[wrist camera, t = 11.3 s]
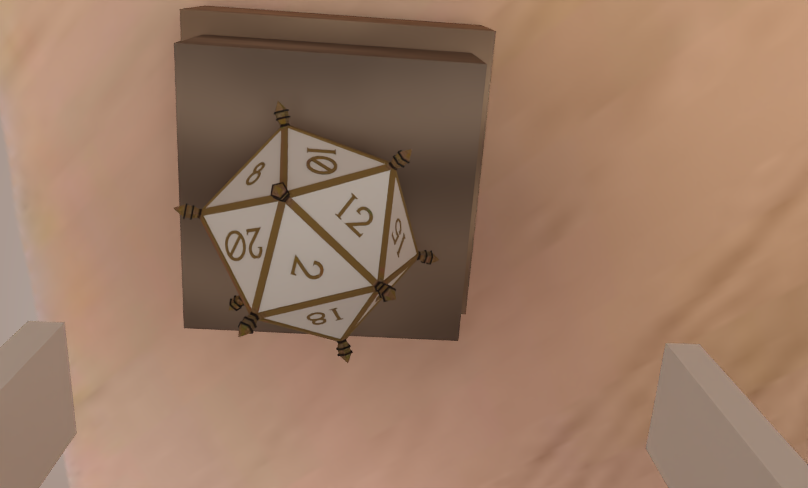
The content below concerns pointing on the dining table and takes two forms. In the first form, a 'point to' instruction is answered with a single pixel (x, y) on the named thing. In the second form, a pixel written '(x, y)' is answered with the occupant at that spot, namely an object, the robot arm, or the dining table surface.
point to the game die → (311, 233)
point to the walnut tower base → (337, 138)
